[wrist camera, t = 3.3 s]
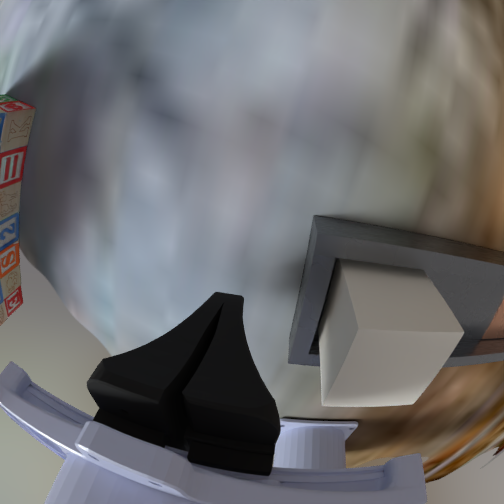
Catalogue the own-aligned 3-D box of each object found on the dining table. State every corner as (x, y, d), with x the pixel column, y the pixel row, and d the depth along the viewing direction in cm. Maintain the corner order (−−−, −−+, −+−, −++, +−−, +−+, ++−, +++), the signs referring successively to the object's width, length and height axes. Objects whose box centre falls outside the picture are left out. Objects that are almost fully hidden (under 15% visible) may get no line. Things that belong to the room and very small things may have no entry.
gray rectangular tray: (518, 339, 15) (528, 355, 13) (289, 336, 17) (288, 363, 15) (555, 267, 11) (569, 280, 9) (313, 215, 13) (317, 233, 11)
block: (391, 334, 15) (413, 404, 10) (318, 328, 15) (321, 406, 11) (420, 266, 13) (464, 332, 8) (338, 254, 13) (358, 328, 8)
